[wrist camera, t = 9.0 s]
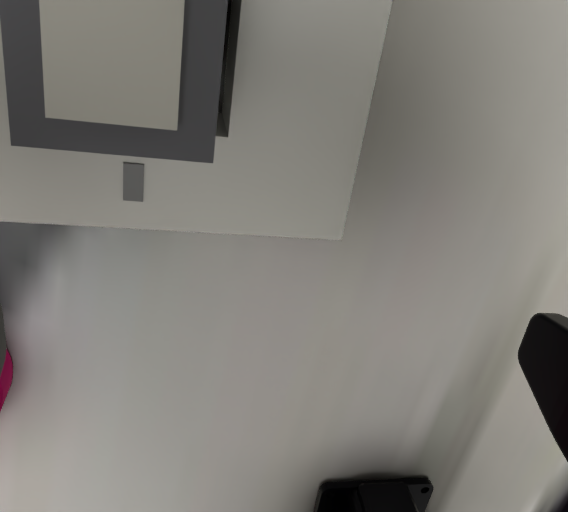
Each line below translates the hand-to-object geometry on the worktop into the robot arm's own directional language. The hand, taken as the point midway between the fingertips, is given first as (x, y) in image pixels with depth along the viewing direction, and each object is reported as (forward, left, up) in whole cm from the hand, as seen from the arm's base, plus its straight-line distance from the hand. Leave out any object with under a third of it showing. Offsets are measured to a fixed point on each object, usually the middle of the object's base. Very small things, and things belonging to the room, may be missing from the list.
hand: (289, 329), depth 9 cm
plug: (+3, +3, -12) cm, 13 cm away
